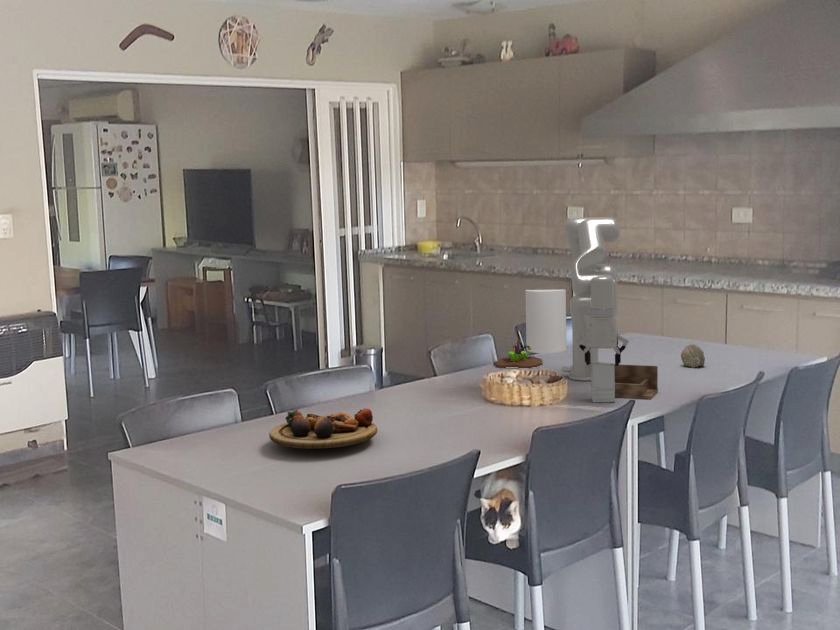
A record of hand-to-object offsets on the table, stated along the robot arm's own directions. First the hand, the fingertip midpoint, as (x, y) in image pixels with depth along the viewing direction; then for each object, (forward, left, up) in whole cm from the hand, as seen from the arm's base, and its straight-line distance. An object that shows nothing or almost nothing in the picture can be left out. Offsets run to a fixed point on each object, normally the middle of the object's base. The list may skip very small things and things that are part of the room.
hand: (602, 364), depth 327 cm
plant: (-48, +57, -13) cm, 76 cm away
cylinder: (-46, +89, -12) cm, 101 cm away
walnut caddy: (+6, +13, -12) cm, 18 cm away
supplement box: (0, +1, -12) cm, 12 cm away
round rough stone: (+20, +67, -12) cm, 71 cm away
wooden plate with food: (-68, -69, -13) cm, 98 cm away
